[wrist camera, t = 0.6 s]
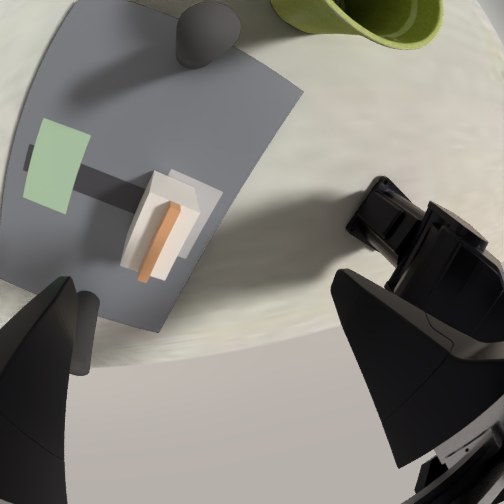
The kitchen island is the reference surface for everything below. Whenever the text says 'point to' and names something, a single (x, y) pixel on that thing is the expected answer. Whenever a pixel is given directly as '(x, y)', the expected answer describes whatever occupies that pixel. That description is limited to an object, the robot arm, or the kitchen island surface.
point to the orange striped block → (160, 227)
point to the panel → (127, 152)
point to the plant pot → (367, 19)
